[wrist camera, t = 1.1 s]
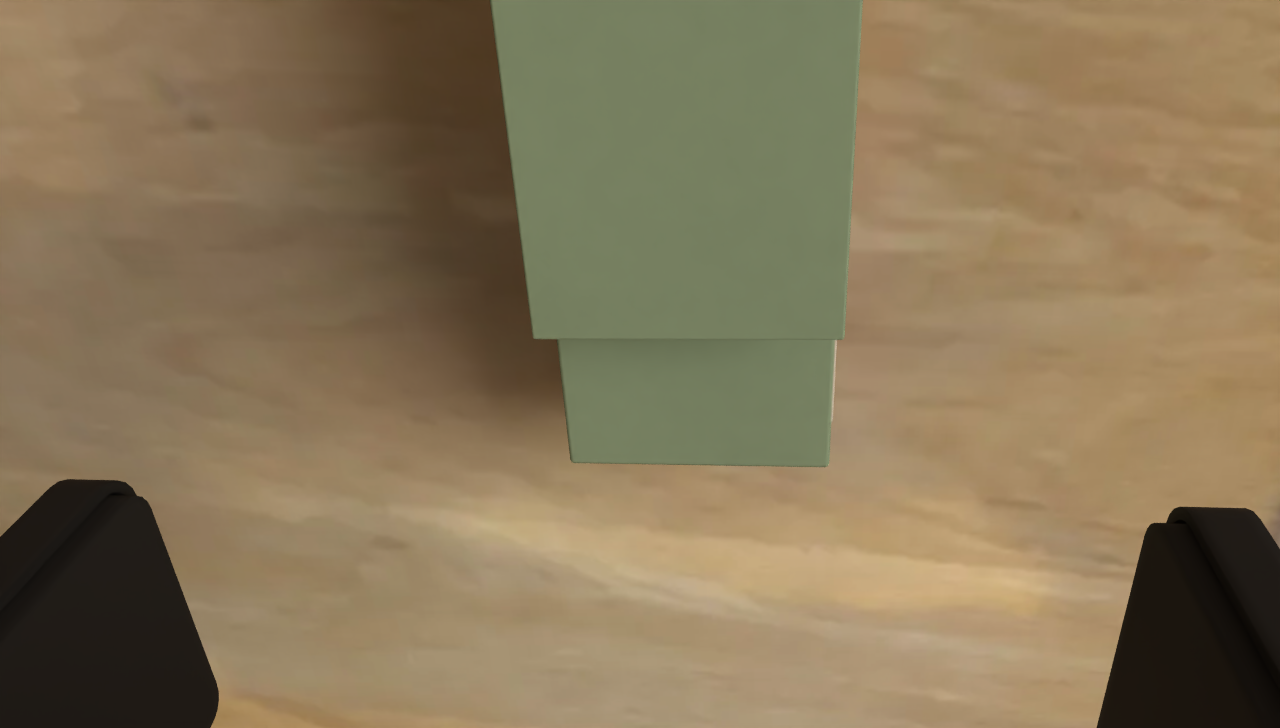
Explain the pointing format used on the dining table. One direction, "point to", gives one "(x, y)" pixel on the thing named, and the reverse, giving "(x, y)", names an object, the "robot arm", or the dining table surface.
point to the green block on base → (686, 218)
